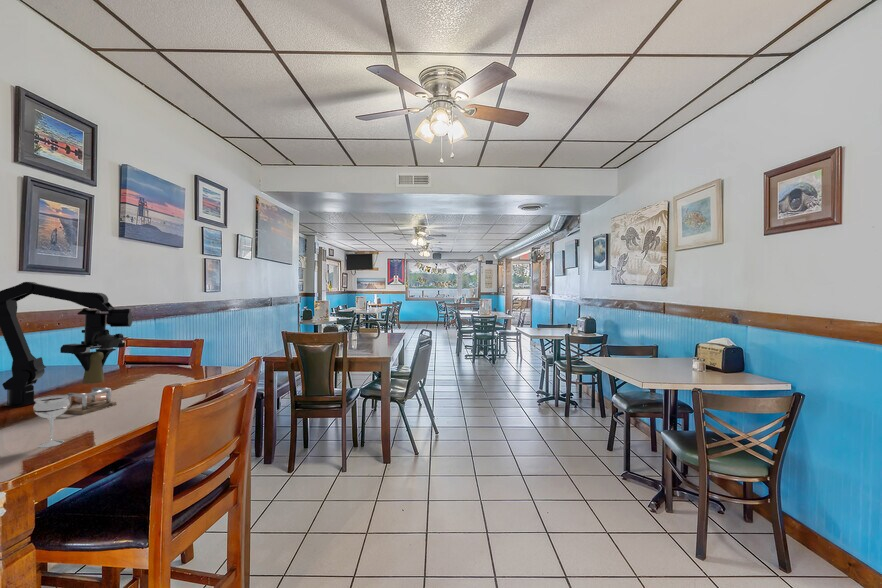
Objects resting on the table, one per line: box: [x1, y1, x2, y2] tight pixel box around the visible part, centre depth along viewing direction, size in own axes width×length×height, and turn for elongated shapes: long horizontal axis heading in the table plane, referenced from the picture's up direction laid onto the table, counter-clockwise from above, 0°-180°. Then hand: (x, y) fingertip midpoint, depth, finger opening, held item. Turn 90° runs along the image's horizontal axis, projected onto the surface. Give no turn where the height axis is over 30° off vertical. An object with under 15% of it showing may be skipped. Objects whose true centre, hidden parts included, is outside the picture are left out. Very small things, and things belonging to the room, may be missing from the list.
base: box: [63, 400, 117, 415], centre depth 130 cm, size 9×11×1 cm
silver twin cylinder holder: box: [66, 386, 112, 410], centre depth 130 cm, size 7×9×5 cm
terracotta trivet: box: [74, 393, 112, 404], centre depth 142 cm, size 10×10×1 cm
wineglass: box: [32, 394, 70, 449], centre depth 101 cm, size 7×7×12 cm
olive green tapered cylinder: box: [82, 351, 105, 385], centre depth 142 cm, size 6×6×11 cm
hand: (93, 369), depth 142 cm, fingers closed on olive green tapered cylinder, 4 cm apart
